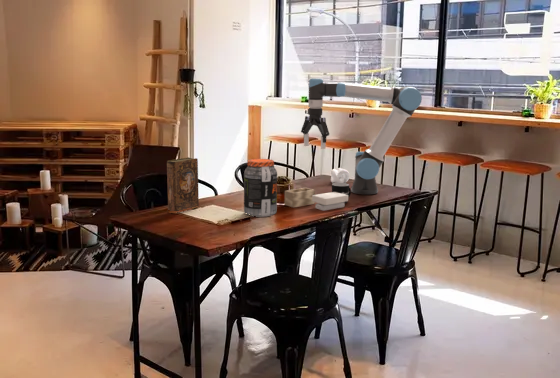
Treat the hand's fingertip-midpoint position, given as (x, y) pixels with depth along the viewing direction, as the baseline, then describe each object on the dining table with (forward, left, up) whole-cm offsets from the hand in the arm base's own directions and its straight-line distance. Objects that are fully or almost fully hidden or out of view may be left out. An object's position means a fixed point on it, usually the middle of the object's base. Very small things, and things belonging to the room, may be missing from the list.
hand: (314, 147), depth 310 cm
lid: (+14, +28, -23) cm, 39 cm away
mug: (0, +23, -27) cm, 35 cm away
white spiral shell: (-35, -17, -27) cm, 48 cm away
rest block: (+14, +28, -27) cm, 41 cm away
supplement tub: (+48, +16, -27) cm, 57 cm away
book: (+75, -11, -27) cm, 80 cm away
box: (+22, +14, -27) cm, 37 cm away
